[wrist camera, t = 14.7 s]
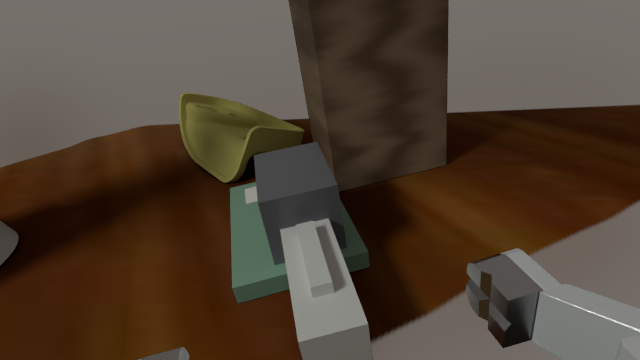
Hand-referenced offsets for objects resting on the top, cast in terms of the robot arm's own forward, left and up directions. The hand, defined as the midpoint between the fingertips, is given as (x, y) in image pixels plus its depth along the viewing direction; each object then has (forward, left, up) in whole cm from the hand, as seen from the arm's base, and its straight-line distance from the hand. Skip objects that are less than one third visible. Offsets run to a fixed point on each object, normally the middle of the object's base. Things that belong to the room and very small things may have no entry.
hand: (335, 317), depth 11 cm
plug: (+1, +14, -10) cm, 17 cm away
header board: (0, +21, -11) cm, 24 cm away
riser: (+11, +31, -11) cm, 34 cm away
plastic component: (-4, +43, -12) cm, 44 cm away
